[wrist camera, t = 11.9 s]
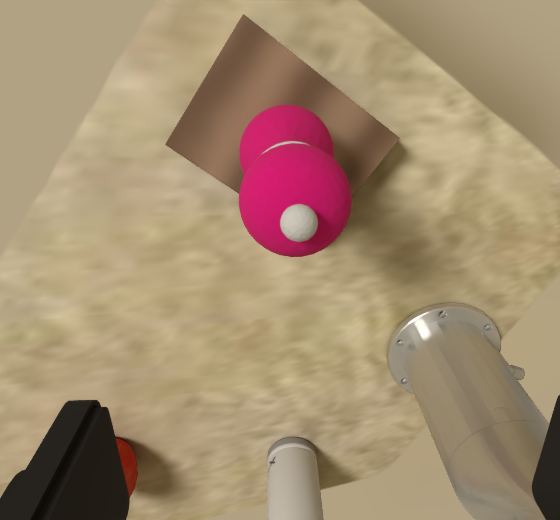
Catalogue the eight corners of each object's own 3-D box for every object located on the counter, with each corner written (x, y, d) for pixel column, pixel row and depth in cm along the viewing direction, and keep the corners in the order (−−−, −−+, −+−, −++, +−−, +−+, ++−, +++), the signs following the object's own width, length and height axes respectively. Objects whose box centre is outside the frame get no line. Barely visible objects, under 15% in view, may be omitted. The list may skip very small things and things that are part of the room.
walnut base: (391, 132, 41) (399, 138, 38) (311, 232, 45) (314, 243, 43) (245, 16, 37) (243, 14, 34) (172, 138, 41) (165, 144, 38)
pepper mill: (273, 79, 36) (280, 114, 18) (343, 132, 38) (413, 210, 20) (225, 154, 39) (190, 249, 21) (293, 199, 41) (316, 323, 23)
